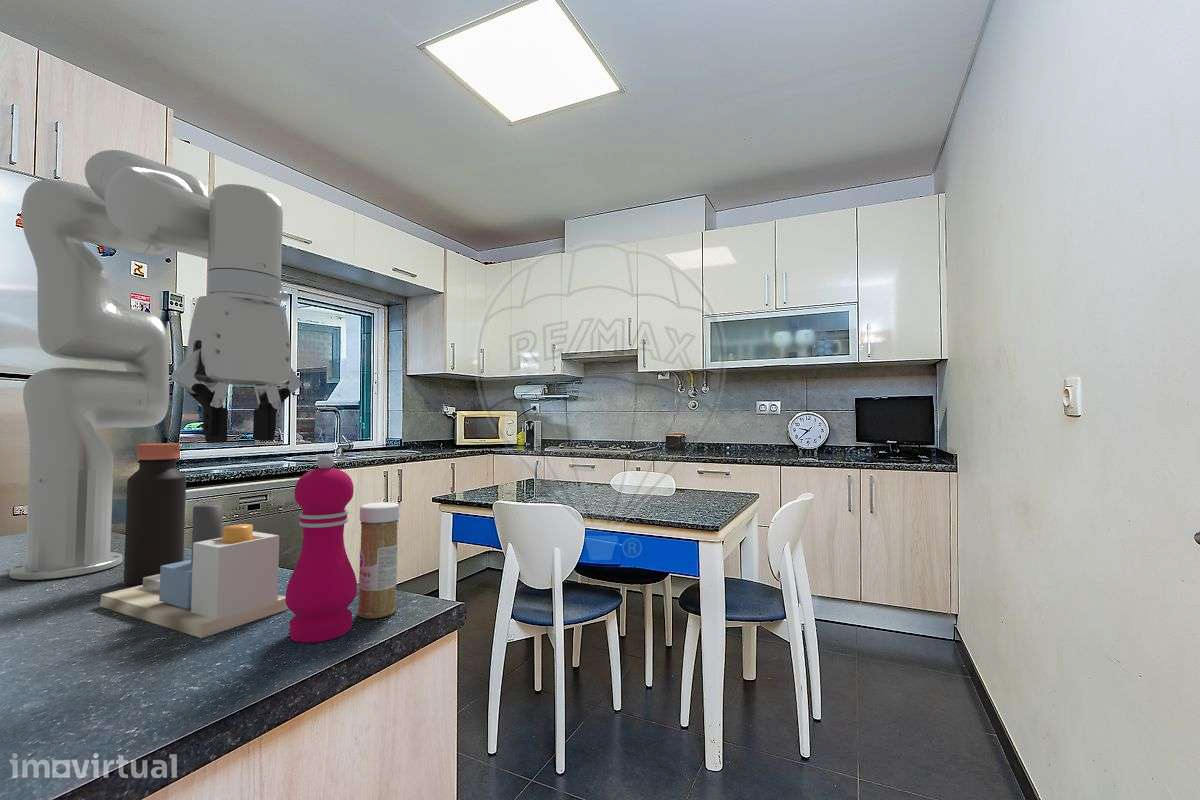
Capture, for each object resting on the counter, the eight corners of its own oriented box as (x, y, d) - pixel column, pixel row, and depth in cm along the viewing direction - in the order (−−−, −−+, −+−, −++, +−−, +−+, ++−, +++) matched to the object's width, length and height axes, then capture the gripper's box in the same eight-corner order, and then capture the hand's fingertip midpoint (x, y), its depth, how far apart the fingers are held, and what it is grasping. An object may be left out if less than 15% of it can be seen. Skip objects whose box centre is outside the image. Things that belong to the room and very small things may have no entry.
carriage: (159, 600, 65) (162, 507, 66) (220, 584, 72) (223, 500, 72) (187, 608, 63) (190, 512, 63) (248, 591, 69) (251, 503, 69)
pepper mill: (327, 648, 56) (331, 457, 57) (268, 642, 58) (273, 455, 59) (369, 622, 64) (373, 453, 64) (316, 617, 65) (320, 451, 66)
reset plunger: (216, 561, 64) (217, 527, 64) (242, 555, 67) (243, 523, 67) (231, 564, 63) (232, 530, 63) (257, 558, 65) (258, 525, 65)
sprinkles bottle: (350, 613, 66) (353, 504, 67) (385, 604, 70) (387, 500, 70) (368, 623, 63) (371, 508, 64) (404, 612, 67) (406, 504, 67)
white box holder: (191, 612, 62) (193, 542, 63) (252, 594, 69) (254, 531, 69) (216, 619, 60) (218, 547, 60) (277, 600, 66) (279, 535, 67)
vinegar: (112, 583, 77) (117, 444, 78) (164, 571, 84) (169, 442, 84) (141, 589, 75) (147, 445, 76) (193, 576, 81) (197, 443, 82)
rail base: (100, 606, 68) (101, 584, 68) (188, 584, 77) (189, 565, 77) (201, 638, 59) (202, 613, 59) (288, 609, 68) (289, 587, 68)
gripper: (290, 307, 75) (287, 438, 74) (145, 278, 60) (139, 443, 59) (327, 303, 72) (324, 439, 71) (183, 271, 56) (178, 445, 56)
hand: (240, 439), depth 65 cm, fingers open, 4 cm apart
